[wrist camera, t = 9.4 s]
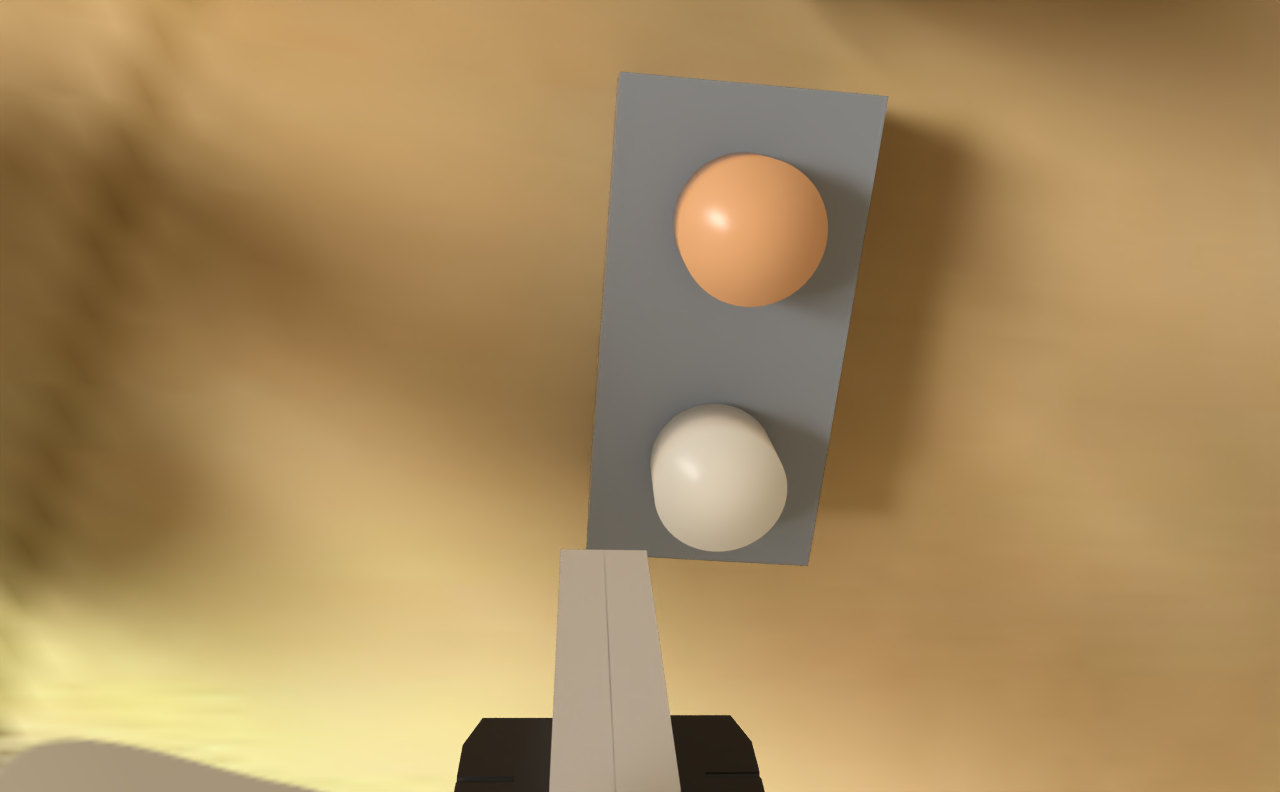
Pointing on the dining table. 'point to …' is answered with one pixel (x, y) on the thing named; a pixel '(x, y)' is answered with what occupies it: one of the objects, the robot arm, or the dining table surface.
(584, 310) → the dining table surface
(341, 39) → the dining table surface
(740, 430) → the knob
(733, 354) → the console
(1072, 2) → the dining table surface
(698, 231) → the knob
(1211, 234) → the dining table surface
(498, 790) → the robot arm
